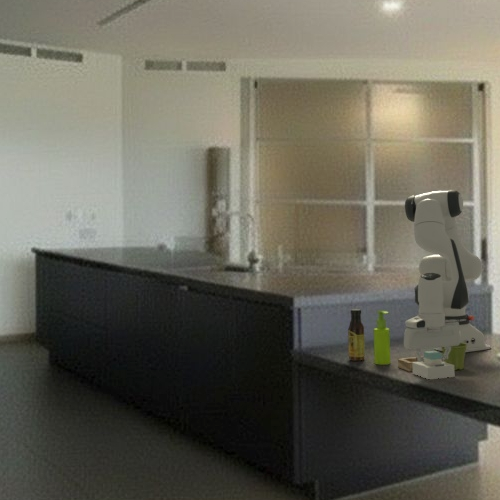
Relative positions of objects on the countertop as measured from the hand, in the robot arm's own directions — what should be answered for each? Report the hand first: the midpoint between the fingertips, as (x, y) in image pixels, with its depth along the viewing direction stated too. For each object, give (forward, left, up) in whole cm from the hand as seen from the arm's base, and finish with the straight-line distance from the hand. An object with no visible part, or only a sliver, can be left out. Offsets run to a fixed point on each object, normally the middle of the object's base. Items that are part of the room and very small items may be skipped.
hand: (432, 360), depth 261 cm
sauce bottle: (+12, -38, -5) cm, 40 cm away
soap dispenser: (+6, -27, -5) cm, 28 cm away
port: (0, 0, -5) cm, 5 cm away
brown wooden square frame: (0, -14, -5) cm, 15 cm away
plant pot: (-12, -7, -5) cm, 15 cm away
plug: (0, 0, -5) cm, 5 cm away
